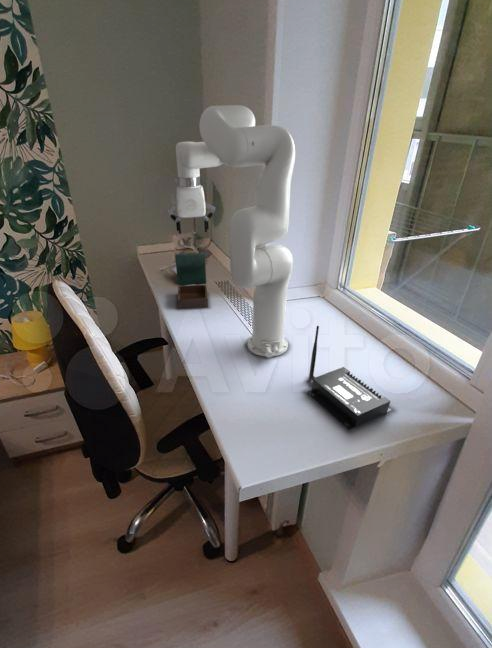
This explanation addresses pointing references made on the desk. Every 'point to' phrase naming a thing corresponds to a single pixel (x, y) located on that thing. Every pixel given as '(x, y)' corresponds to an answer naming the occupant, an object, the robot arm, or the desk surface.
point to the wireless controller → (345, 395)
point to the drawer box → (192, 297)
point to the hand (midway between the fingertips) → (192, 232)
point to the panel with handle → (190, 268)
